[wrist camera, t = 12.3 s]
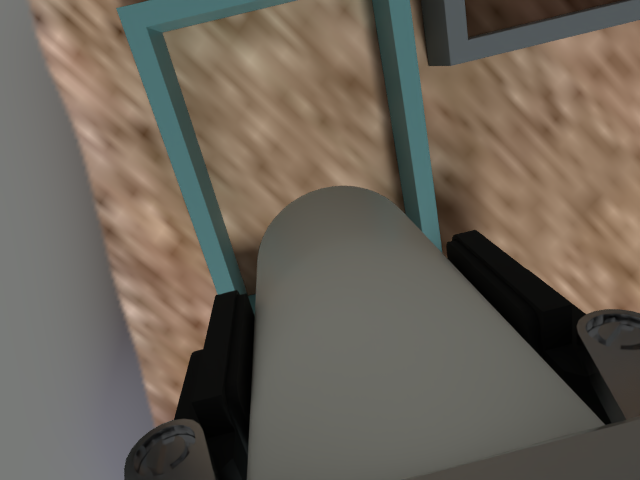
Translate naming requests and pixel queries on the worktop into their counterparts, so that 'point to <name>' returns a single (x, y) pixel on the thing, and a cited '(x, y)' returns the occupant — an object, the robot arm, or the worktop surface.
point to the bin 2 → (509, 30)
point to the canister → (384, 353)
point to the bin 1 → (182, 146)
